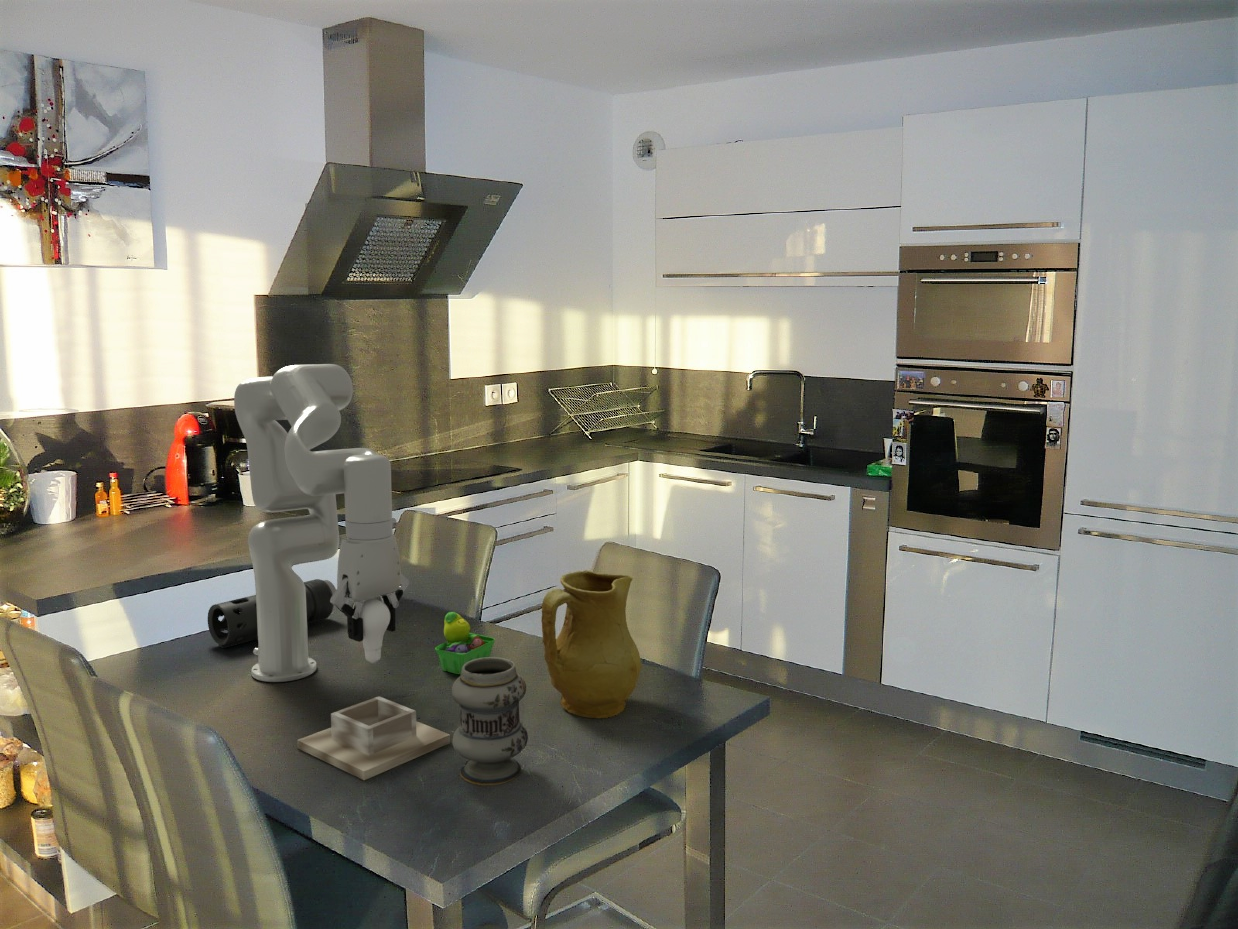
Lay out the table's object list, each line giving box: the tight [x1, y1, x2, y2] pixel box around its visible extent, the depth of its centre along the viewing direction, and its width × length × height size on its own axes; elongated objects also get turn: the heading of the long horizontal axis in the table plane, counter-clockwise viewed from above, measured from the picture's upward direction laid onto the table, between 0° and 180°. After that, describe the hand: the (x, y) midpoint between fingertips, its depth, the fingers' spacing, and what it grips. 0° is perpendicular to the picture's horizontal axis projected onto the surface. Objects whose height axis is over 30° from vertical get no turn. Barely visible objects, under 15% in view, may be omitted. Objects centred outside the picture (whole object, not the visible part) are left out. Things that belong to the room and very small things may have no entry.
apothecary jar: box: [451, 656, 529, 786], centre depth 162 cm, size 12×12×18 cm
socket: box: [297, 695, 451, 781], centre depth 172 cm, size 18×18×6 cm
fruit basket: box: [435, 611, 496, 676], centre depth 210 cm, size 11×9×11 cm
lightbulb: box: [359, 598, 390, 664], centre depth 170 cm, size 6×6×11 cm
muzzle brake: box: [207, 578, 338, 649], centre depth 229 cm, size 10×28×10 cm, turn 141°
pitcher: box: [540, 569, 642, 719], centre depth 188 cm, size 17×19×25 cm
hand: (372, 633), depth 170 cm, fingers closed on lightbulb, 6 cm apart
